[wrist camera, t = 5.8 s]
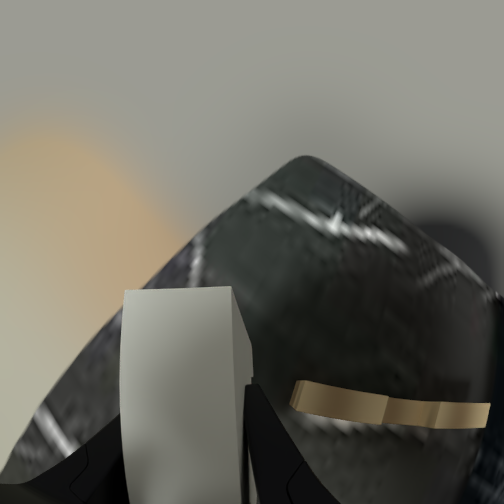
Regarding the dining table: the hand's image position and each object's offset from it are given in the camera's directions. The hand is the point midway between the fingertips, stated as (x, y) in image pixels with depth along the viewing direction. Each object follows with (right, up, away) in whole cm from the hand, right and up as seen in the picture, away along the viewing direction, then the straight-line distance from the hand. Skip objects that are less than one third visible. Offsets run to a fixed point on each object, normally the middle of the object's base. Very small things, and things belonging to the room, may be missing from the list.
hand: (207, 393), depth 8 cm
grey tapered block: (0, -4, +5) cm, 7 cm away
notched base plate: (+12, -8, +10) cm, 18 cm away
